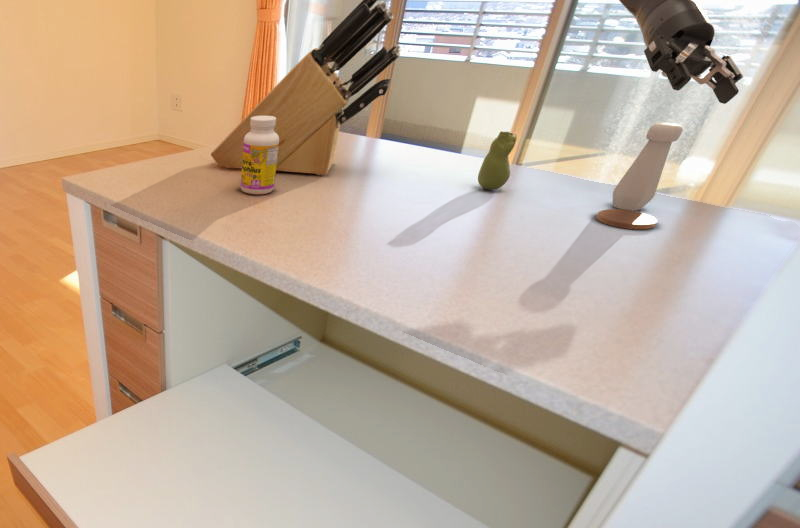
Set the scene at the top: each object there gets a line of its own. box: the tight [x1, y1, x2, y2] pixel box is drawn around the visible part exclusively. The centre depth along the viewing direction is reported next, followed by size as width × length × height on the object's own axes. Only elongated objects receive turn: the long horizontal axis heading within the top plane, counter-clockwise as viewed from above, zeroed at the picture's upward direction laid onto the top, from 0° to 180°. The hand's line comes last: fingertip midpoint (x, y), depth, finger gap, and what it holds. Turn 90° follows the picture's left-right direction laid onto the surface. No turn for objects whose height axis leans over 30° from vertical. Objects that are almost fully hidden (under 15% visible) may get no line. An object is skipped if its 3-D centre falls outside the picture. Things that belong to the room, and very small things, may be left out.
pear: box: [477, 130, 517, 191], centre depth 102 cm, size 6×5×10 cm
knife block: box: [210, 0, 402, 176], centre depth 111 cm, size 11×35×31 cm, turn 69°
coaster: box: [595, 208, 658, 231], centre depth 89 cm, size 8×8×1 cm
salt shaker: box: [612, 122, 684, 212], centre depth 90 cm, size 6×6×13 cm
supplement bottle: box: [239, 116, 279, 196], centre depth 103 cm, size 7×7×13 cm
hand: (706, 91), depth 85 cm, fingers open, 8 cm apart
